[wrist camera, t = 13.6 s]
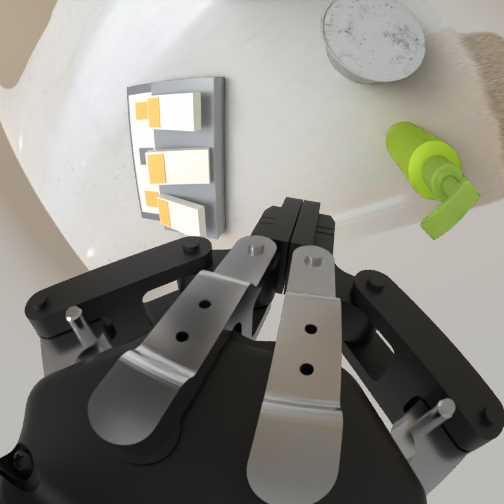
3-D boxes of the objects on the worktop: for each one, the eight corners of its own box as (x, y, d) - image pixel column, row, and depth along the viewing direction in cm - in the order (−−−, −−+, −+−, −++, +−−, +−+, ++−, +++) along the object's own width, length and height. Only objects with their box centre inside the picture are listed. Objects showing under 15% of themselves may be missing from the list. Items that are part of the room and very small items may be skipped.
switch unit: (130, 86, 36) (116, 89, 33) (223, 77, 32) (213, 77, 30) (145, 215, 51) (134, 224, 48) (225, 228, 47) (217, 239, 44)
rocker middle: (148, 150, 36) (144, 153, 34) (209, 147, 36) (208, 149, 34) (152, 181, 38) (148, 185, 37) (210, 180, 39) (209, 184, 37)
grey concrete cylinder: (368, 98, 29) (384, 102, 19) (311, 51, 27) (299, 34, 18) (412, 54, 23) (444, 42, 13) (354, 6, 22) (360, -27, 12)
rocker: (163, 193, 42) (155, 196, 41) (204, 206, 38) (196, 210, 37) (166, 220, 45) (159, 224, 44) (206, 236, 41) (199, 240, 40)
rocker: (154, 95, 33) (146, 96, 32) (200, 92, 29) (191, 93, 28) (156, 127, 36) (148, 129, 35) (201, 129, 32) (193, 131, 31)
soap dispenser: (373, 149, 33) (404, 212, 17) (402, 113, 28) (465, 144, 13) (403, 176, 33) (448, 258, 17) (432, 142, 29) (505, 201, 13)
